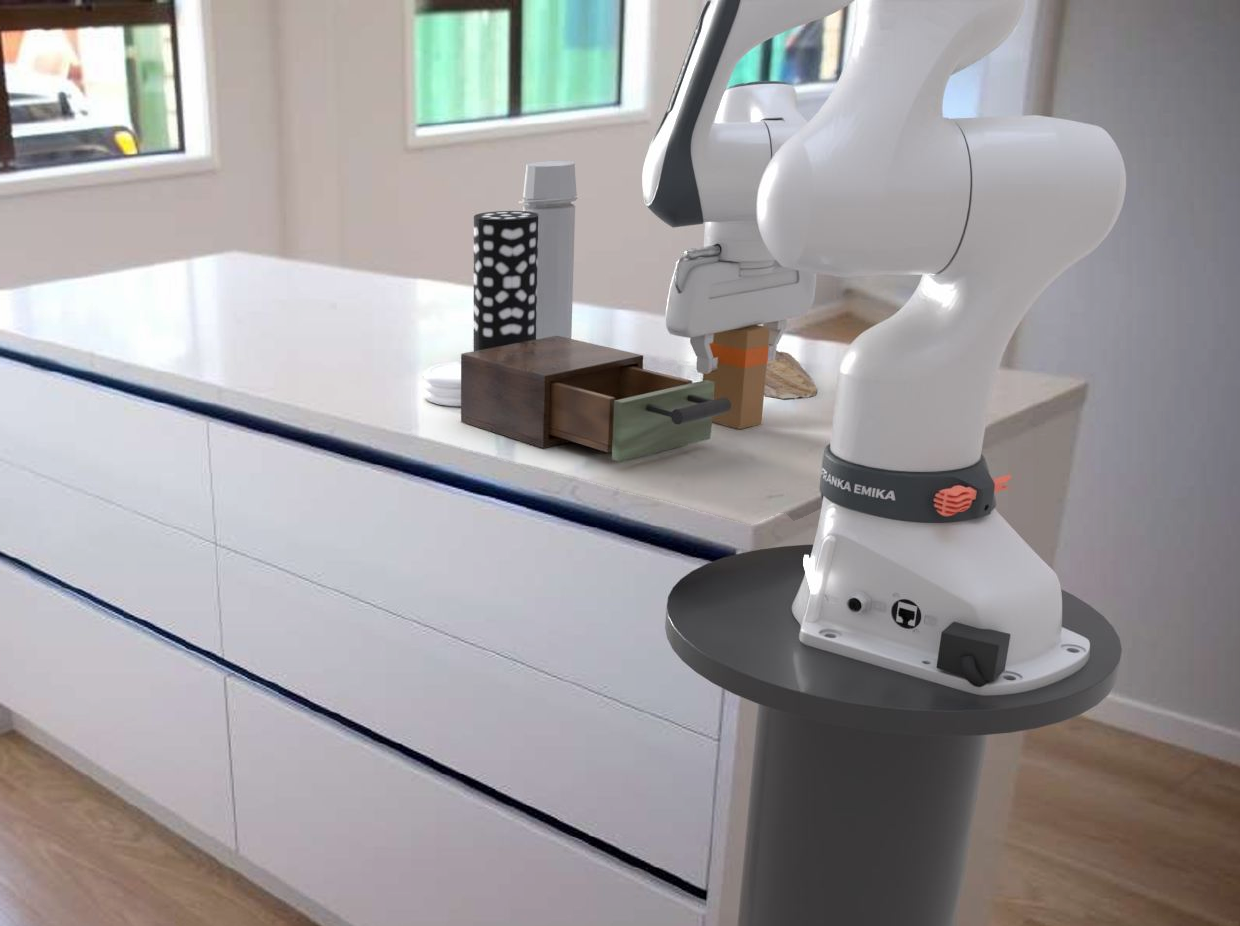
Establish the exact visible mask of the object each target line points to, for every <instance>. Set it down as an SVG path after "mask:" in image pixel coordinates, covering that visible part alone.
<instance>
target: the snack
mask: <svg viewBox="0 0 1240 926" xmlns="http://www.w3.org/2000/svg"><path fill="white" fill-rule="evenodd" d="M769 332H770V328H769V327H764V326H763V325H760V324H759V325H754V326H749V327H744V328H739V329H734V330H728V331H723V332H718V333H714V338H713V343H709V345H710V348H711V351H712V355H713V356H716V357H718V363H717V367H718V368H717V371H716V372H712V373H709V374H703V373H702V381H704V380H709V381H713V382H715V383H714V396H713V400H715V399H720V398H724V397H725V398H728V399H729V400H730V402H731V409H730V411H729V412H728V413H724V414H720V415H716V416H712V423H715V424H717V425H721V426H725V427H729V428H732V429H736V430H743V429H747V428H750V427H755V426H759V425H762V422H763V413H764V398H765V395H764V389H765V377H766V366H767V363H768V352H769V345H768V343H769Z"/></svg>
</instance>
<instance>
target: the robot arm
mask: <svg viewBox="0 0 1240 926" xmlns="http://www.w3.org/2000/svg"><path fill="white" fill-rule="evenodd" d="M853 2H855V13H854V24H853V32H852V38H851V44H850V47H849V51H848V55H847V58H846V61H845V63H844V65H843V69H842V71H841V74H840V76H839V78H838V80H837V82H836V84H835V86H834V88H833V89H832V91H831V92H830V95H829V96H828V98H827V99H826V101H825V102H824V103H823V104H822V106H821V107H820V109H819V110H818V111H817V112H816V113H815V115H813V117H812V118H811V119H810V120H809V121H808V120H806V119H805V118H804V117H803V116H802V114H801V113H800V112H799V110H798V100H797V97H798V96H797V90H796V88H795V87H794V86H793V85H792V84H790V83H788V82H785V81H779V80H759V81H749V82H743V83H742V82H741V83H738V84H734V85H731V86H729V87H728V85H729V82H730V80H731V78H732V74H733V72H734V70H735V69H736V66H737V64H738V63H739V62H740V61H741V60H742V58H743V57H744V56H746V55H747V54H748V53H749V52H750V51H752V50H754V48H756V47H757V46H758V47H759V45H761V44H762V43H765V42H767V41H768V40H770V39H772V38H774V37H776V36H778V35H781V34H783V33H785V32H788V31H790V30H792V29H795V28H798V27H800V26H804V25H806V24H809V23H813V22H816V21H819V20H821V19H824V18H827V17H830V16H831V15H834V14H836V13H837V12H839V11H841V10H842V9H844V8H846V7H847V6H849V5H850V4H852V3H853ZM1025 5H1026V0H705V3H704V5H703V7H702V9H701V13H700V15H699V18H698V20H697V23H696V26H695V28H694V31H693V34H692V36H691V38H690V43H689V45H688V48H687V50H686V53H685V57H684V59H683V62H682V65H681V68H680V70H679V73H678V75H677V79H676V81H675V85H674V87H673V88H674V89H673V91H672V93H671V97H670V99H669V102H668V105H667V107H666V110H665V112H664V114H663V117H662V119H661V121H660V124H659V125H658V128H657V130H656V131H655V134H654V135H653V138H652V139H651V142H650V144H649V147H648V150H647V153H646V156H645V159H644V163H643V166H642V173H641V175H642V176H641V187H642V188H641V189H642V196H643V197H642V198H643V202H644V203H645V206H646V207H647V208H648V209H649V210H650V211H651V213H653V214H654V215H655V216H656V217H657V218H658V219H659V220H660V221H662V222H663V223H665V224H666V225H667V226H669V227H671V228H681V227H690V226H698V225H704V233H703V234H704V235H703V247H698V248H697V247H692V248H689V249H687V250H685V251H684V254H682V255H681V256H680V258H679V259H678V260H677V261H676V262H675V265H674V271H673V272H674V273H673V275H672V277H671V280H670V285H669V290H668V296H667V301H666V302H667V303H666V309H665V317H664V325H665V328H666V330H667V331H668V333H669V334H670V335H673V336H677V337H681V338H687V339H689V343H690V345H691V348H692V350H693V352H694V354H695V357H696V368H695V369H696V372H697V373H699V374H702V375H703V374H709V373H712V372H716V371H717V368H718V367H717V363H718V357H716V356H713V355H712V351H711V348H710V345H709V343H713V338H714V333H718V332H723V331H728V330H734V329H739V328H744V327H749V326H754V325H759V326H760V325H762V326H764V327H769V328H770V332H769V343H768V345H769V352H768V361H769V360H773V359H775V357H776V350H777V347H778V346H777V345H778V344H779V343H780V341H781V339H782V337H783V336H784V333H785V331H786V329H787V321H788V320H789V319H793V318H798V317H804V316H807V315H808V313H809V312H810V311H811V309H812V307H813V305H814V302H815V296H816V287H817V275H823V276H829V277H837V278H844V279H847V278H849V279H850V278H868V277H869V278H870V277H896V276H918V275H919V276H921V278H920V281H919V282H918V284H917V287H916V289H915V290H914V292H913V294H912V295H911V297H910V298H909V299H908V300H907V301H906V302H905V304H904V305H903V306H902V307H901V308H900V309H899V310H898V311H896V312H895V313H894V314H893V315H891V316H889V318H886V319H884V320H882V321H880V322H879V323H877V324H875V325H872V326H871V327H869V328H868V329H866V330H864V331H863V332H861V333H860V334H859V335H858V336H857V337H856V338H854V340H852V342H851V343H850V344H849V346H848V347H847V348H846V350H845V351H844V353H843V355H842V357H841V359H840V361H839V364H838V370H837V379H836V380H837V381H836V386H835V398H834V405H833V417H832V418H833V419H832V425H831V435H830V436H831V437H830V443H829V444H827V445H826V446H825V447H824V451H823V457H822V463H821V471H820V477H819V478H820V479H819V486H818V487H819V492H820V497H821V508H820V514H819V519H818V523H817V529H816V534H815V537H814V542H813V544H814V545H813V544H812V545H813V549H812V553H811V557H810V560H809V556H808V555H804V563H803V565H804V568H805V572H806V573H805V575H804V578H803V581H802V584H801V586H800V588H799V591H798V593H797V595H796V597H795V600H794V602H793V604H792V613H793V615H794V617H795V618H796V620H797V621H798V622H799V624H800V626H801V629H800V633H799V640H800V641H801V642H802V643H803V644H805V645H808V646H811V647H815V648H818V649H821V650H825V651H828V652H832V653H835V654H839V655H842V656H845V657H849V658H852V659H856V660H859V661H863V662H866V663H869V664H873V665H876V666H880V667H883V668H886V669H890V670H893V671H897V672H900V673H904V674H907V675H910V676H914V677H917V678H921V679H924V680H927V681H931V682H934V683H938V684H941V685H945V686H948V687H951V688H955V689H958V690H962V691H965V692H969V693H973V694H977V695H983V696H991V695H1007V694H1016V693H1021V692H1026V691H1031V690H1035V689H1038V688H1041V687H1045V686H1048V685H1050V684H1053V683H1055V682H1058V681H1060V680H1062V679H1064V678H1066V677H1068V676H1070V675H1072V674H1074V673H1075V672H1077V671H1079V670H1080V669H1081V668H1082V667H1083V666H1085V664H1086V663H1087V662H1088V659H1089V656H1090V642H1089V640H1088V639H1087V638H1085V637H1083V636H1081V635H1079V634H1077V633H1074V632H1072V631H1070V630H1068V629H1065V628H1063V627H1062V594H1061V589H1062V588H1061V587H1062V586H1061V583H1060V579H1059V576H1058V575H1057V573H1056V572H1055V571H1054V569H1052V567H1050V566H1049V564H1047V563H1046V562H1045V561H1044V560H1043V558H1041V557H1040V555H1039V554H1038V553H1037V552H1036V551H1034V550H1033V548H1032V547H1031V546H1030V545H1029V544H1028V543H1027V542H1026V541H1025V540H1024V538H1022V536H1020V535H1019V533H1017V531H1016V530H1015V529H1014V528H1013V527H1012V526H1011V524H1009V522H1007V521H1006V519H1005V518H1004V517H1003V516H1002V515H1001V514H1000V513H999V511H997V509H996V507H997V500H996V496H995V494H996V493H998V492H1002V491H1005V490H1007V489H1011V485H1009V484H1006V483H1008V481H1010V480H1012V478H1013V475H1012V474H1011V473H1009V474H1008V473H1007V474H1005V475H1002V476H998V477H995V478H992V476H991V475H990V470H989V466H988V463H987V461H986V457H985V456H984V454H983V453H982V451H983V445H984V439H985V432H986V427H987V422H988V416H989V411H990V407H991V402H992V397H993V393H994V388H995V383H996V380H997V375H998V371H999V369H1000V365H1001V363H1002V359H1003V356H1004V354H1005V351H1006V350H1007V347H1008V345H1009V343H1010V340H1011V339H1012V337H1013V336H1014V334H1015V331H1016V329H1017V328H1018V326H1019V325H1020V323H1021V322H1022V320H1023V318H1024V317H1025V316H1026V314H1027V313H1028V311H1029V310H1030V309H1031V307H1032V306H1033V304H1034V303H1035V302H1037V300H1038V299H1039V297H1040V296H1041V295H1042V294H1043V292H1044V291H1045V290H1046V289H1047V288H1048V287H1049V286H1050V285H1051V284H1052V283H1053V282H1054V281H1055V280H1056V279H1057V278H1058V277H1060V276H1062V274H1063V273H1065V272H1066V270H1068V269H1069V268H1070V267H1072V266H1073V265H1074V264H1076V263H1077V262H1079V261H1080V260H1081V259H1083V258H1084V257H1086V256H1088V255H1090V254H1091V253H1093V251H1095V250H1096V249H1097V248H1098V247H1099V246H1100V245H1101V243H1102V242H1103V241H1104V240H1105V239H1106V238H1107V236H1108V235H1109V233H1111V231H1112V229H1113V227H1114V226H1115V224H1116V222H1117V220H1118V218H1119V216H1120V214H1121V211H1122V209H1123V205H1124V202H1125V197H1126V190H1127V189H1126V188H1127V173H1126V172H1127V171H1126V167H1125V166H1126V165H1125V163H1124V162H1125V161H1124V159H1123V156H1122V153H1121V152H1120V149H1119V148H1118V145H1117V144H1116V141H1115V140H1114V139H1113V137H1112V136H1111V135H1110V133H1108V132H1107V130H1105V129H1104V128H1103V127H1101V126H1099V125H1096V124H1091V123H1086V122H1081V121H1076V120H1071V119H1066V118H1060V117H1052V116H1046V115H1039V114H1031V115H1030V114H1029V115H1028V114H1027V115H1010V116H1009V115H1008V116H1007V115H1005V116H982V117H958V118H949V117H945V116H944V114H943V104H944V96H945V91H946V87H947V85H948V82H949V80H950V78H951V76H953V75H955V74H957V73H959V72H961V71H963V70H965V69H967V68H969V67H970V66H972V65H974V64H975V63H977V62H979V61H980V60H982V59H984V58H985V57H986V56H988V55H989V54H991V53H993V52H995V50H997V49H998V48H999V47H1001V45H1003V43H1005V42H1006V40H1008V38H1009V37H1010V36H1011V35H1012V34H1013V32H1014V30H1015V29H1016V27H1017V25H1018V23H1019V21H1020V19H1021V17H1022V14H1023V11H1024V8H1025ZM1003 484H1006V485H1003Z"/></svg>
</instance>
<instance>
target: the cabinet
mask: <svg viewBox="0 0 1240 926" xmlns="http://www.w3.org/2000/svg"><path fill="white" fill-rule="evenodd" d="M460 359H461V360H460V362H461V406H460V422H461V423H465V424H467V425H470V426H473V427H475V428H480V429H481V430H486V431H489V432H492V433H495V434H498V435H500V436H505V437H508V438H511V439H514V440H517V441H520V442H523V443H526V444H529V445H532V446H535V447H538V448H541V449H545V448H549V447H553V446H559V445H563V444H566V443H570V442H572V441H569V440H566V439H563V438H559V437H556V436H553V435H550V434H549V404H550V381H555V380H560V379H565V378H569V377H574V376H579V375H584V374H588V373H593V372H598V371H603V370H607V369H612V368H617V367H622V366H626V365H629V366H633V367H637V368H642V369H644V355H643V354H639V353H635V352H630V351H627V350H621V349H617V348H613V347H610V346H609V347H608V346H604V345H599V344H595V343H591V342H586V341H582V340H578V339H573V338H571V339H569V338H565V337H560V336H552V337H547V338H541V339H536V340H531V341H526V342H520V343H515V344H510V345H505V346H499V347H494V348H489V349H484V350H478V351H474V350H473V351H468V352H464V353H463V352H462V353H461V354H460Z"/></svg>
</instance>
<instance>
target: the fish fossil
mask: <svg viewBox="0 0 1240 926" xmlns="http://www.w3.org/2000/svg"><path fill="white" fill-rule="evenodd" d="M813 380H814V379H812V377H811V376H810V375H809V374H808V373H807V371H806V370H805V369H804V368H803V367H802V366H801V364H800V362H798V361H797V360H796V358H795V357H793V355H792V354H790V353H789V352H785V351H778V350H777V349H776V357H775V359H773V360H769V361H768V363H767V366H766V377H765V389H764V396H765V397H769V398H774V399H775V398H778V399H780V400H782V399H783V400H784V399H795V400H796V399H798V398H805V399H808V398H810V397H815V396H816V394H817V392H818V390H819V389H818V388H817V385H816V384H815V381H813Z"/></svg>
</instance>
